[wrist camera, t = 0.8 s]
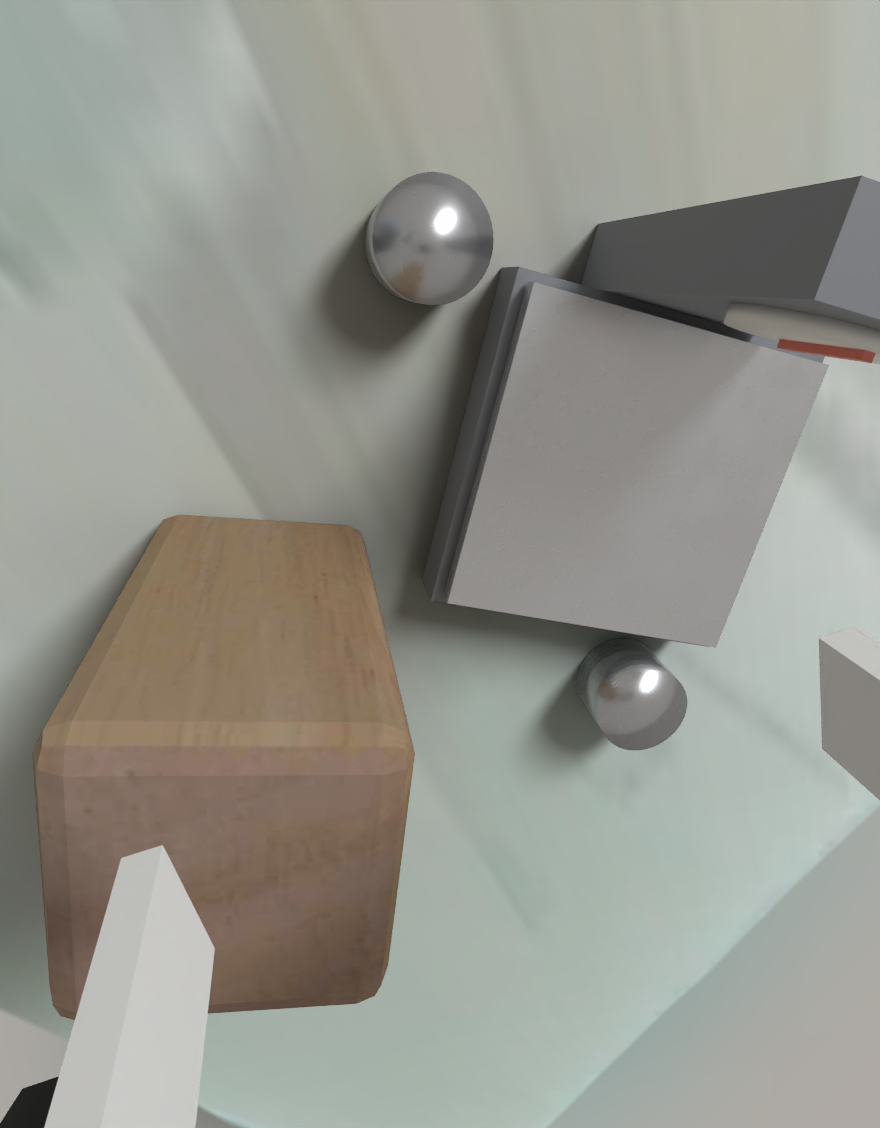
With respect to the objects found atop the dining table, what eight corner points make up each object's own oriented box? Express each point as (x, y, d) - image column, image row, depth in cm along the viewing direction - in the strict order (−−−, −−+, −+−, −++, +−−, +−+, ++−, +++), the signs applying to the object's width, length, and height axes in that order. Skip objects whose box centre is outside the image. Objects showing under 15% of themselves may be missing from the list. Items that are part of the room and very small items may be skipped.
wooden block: (349, 691, 42) (388, 1016, 23) (161, 687, 40) (41, 1041, 21) (365, 520, 38) (423, 743, 20) (160, 507, 36) (15, 742, 18)
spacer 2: (565, 706, 45) (588, 744, 41) (590, 631, 43) (617, 664, 39) (639, 716, 46) (669, 754, 42) (666, 644, 44) (699, 677, 41)
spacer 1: (354, 286, 34) (361, 287, 31) (378, 169, 33) (387, 155, 29) (457, 314, 36) (475, 318, 32) (485, 201, 34) (507, 192, 30)
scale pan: (434, 574, 40) (447, 603, 36) (510, 281, 35) (534, 281, 32) (682, 617, 43) (715, 647, 40) (780, 357, 39) (828, 365, 35)
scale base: (422, 578, 40) (507, 790, 24) (519, 199, 34) (723, 125, 18) (683, 623, 44) (915, 832, 27) (810, 289, 38) (1203, 298, 22)
